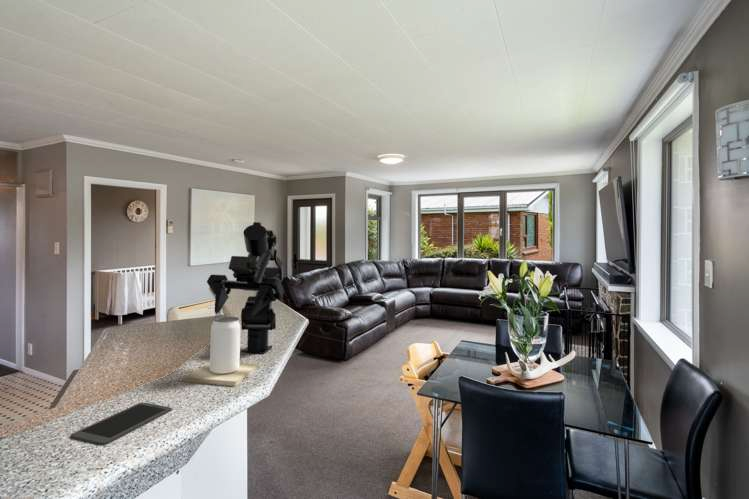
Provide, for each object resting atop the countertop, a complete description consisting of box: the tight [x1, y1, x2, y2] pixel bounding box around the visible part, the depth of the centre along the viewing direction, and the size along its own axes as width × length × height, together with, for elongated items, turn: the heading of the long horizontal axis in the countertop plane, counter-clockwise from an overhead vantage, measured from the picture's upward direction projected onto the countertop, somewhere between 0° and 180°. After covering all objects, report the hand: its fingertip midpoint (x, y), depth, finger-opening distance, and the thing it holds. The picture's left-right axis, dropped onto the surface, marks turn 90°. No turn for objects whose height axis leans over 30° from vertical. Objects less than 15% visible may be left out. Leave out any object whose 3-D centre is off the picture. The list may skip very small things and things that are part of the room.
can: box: [209, 316, 242, 374], centre depth 92 cm, size 6×6×12 cm
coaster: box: [183, 362, 260, 387], centre depth 92 cm, size 12×12×1 cm
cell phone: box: [69, 402, 173, 446], centre depth 68 cm, size 7×14×1 cm, turn 164°
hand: (233, 313), depth 96 cm, fingers open, 9 cm apart
